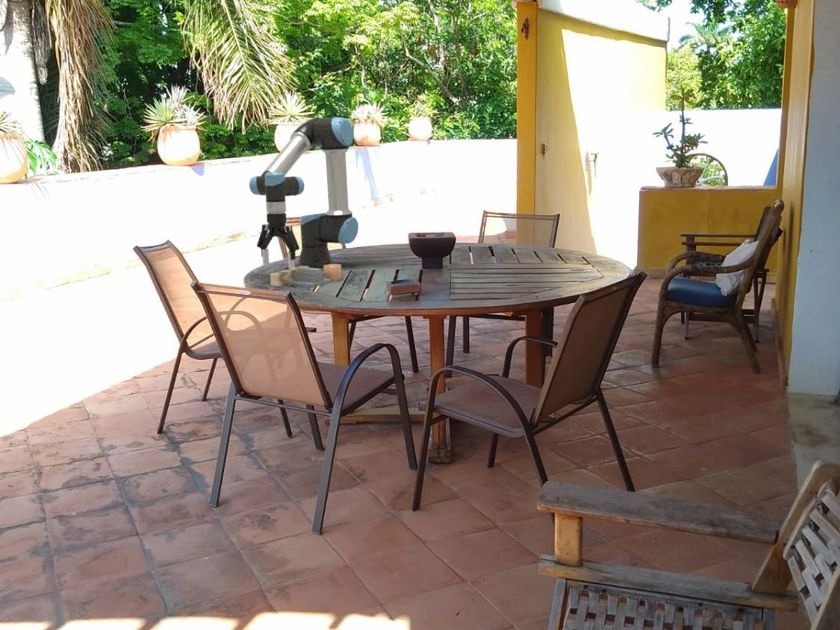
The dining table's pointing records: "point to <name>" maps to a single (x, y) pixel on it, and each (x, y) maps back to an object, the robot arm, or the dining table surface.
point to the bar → (284, 276)
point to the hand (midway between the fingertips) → (278, 266)
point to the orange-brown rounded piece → (332, 272)
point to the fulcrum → (309, 277)
